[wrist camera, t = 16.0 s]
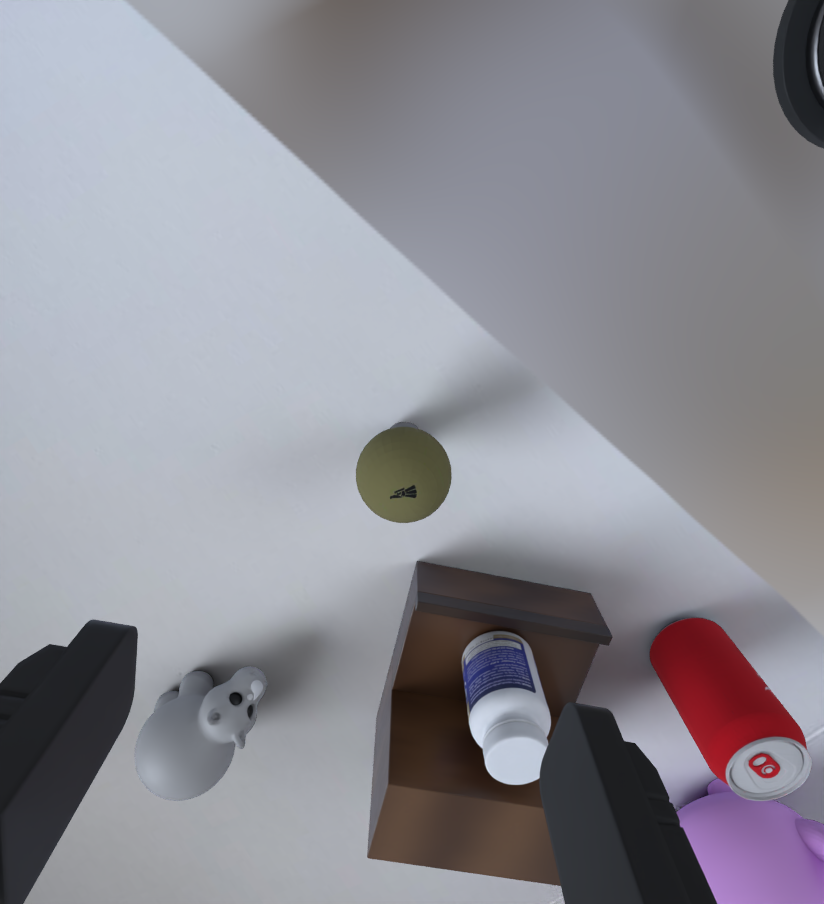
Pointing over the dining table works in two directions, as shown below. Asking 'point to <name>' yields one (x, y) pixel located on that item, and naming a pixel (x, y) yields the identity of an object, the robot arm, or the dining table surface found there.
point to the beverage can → (730, 711)
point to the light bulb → (403, 474)
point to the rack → (447, 726)
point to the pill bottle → (506, 706)
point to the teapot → (755, 849)
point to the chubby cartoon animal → (197, 733)
